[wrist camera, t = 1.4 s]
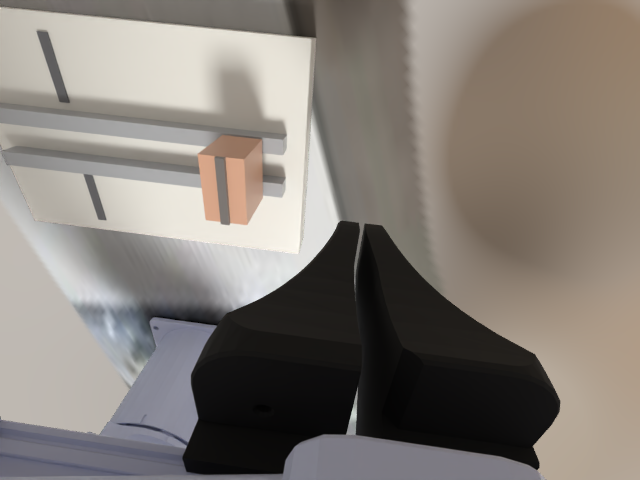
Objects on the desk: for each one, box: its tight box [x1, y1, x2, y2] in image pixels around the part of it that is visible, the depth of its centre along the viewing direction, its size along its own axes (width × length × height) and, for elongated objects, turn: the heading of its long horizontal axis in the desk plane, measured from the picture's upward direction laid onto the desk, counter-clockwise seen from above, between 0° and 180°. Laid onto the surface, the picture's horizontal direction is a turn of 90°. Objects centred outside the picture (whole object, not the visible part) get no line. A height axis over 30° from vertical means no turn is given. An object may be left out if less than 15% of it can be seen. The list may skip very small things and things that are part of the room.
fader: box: [198, 135, 263, 225], centre depth 16 cm, size 3×2×4 cm, turn 176°
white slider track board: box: [0, 6, 316, 254], centre depth 19 cm, size 12×18×3 cm, turn 86°
